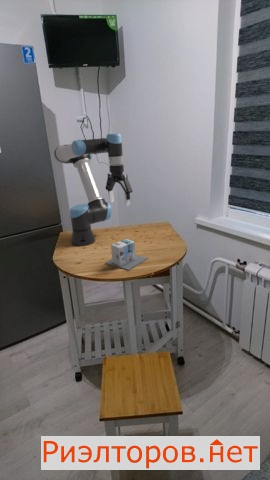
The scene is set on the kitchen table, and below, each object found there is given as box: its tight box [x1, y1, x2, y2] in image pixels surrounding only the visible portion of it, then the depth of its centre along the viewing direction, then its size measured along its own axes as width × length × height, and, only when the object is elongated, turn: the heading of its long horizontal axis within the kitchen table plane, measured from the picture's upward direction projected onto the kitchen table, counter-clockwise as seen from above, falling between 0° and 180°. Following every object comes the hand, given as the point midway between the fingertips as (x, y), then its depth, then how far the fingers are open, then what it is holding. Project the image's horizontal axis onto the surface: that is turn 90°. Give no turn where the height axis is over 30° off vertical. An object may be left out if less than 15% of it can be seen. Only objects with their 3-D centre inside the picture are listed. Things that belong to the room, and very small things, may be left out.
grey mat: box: [104, 254, 149, 271], centre depth 149 cm, size 16×16×1 cm
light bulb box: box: [110, 238, 136, 266], centre depth 145 cm, size 11×7×11 cm
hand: (119, 203), depth 157 cm, fingers open, 13 cm apart
